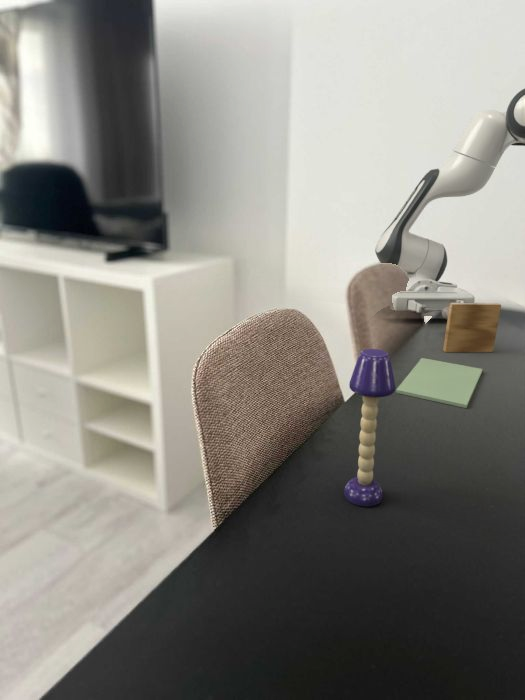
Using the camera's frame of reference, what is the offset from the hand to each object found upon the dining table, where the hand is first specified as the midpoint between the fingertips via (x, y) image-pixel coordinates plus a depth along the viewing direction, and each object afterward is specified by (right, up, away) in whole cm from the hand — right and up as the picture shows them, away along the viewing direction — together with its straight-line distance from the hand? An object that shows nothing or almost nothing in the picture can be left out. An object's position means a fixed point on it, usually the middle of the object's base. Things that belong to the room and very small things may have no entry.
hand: (442, 309), depth 117 cm
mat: (-10, -15, -29) cm, 34 cm away
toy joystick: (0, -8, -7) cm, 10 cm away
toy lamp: (-30, -26, -60) cm, 72 cm away
